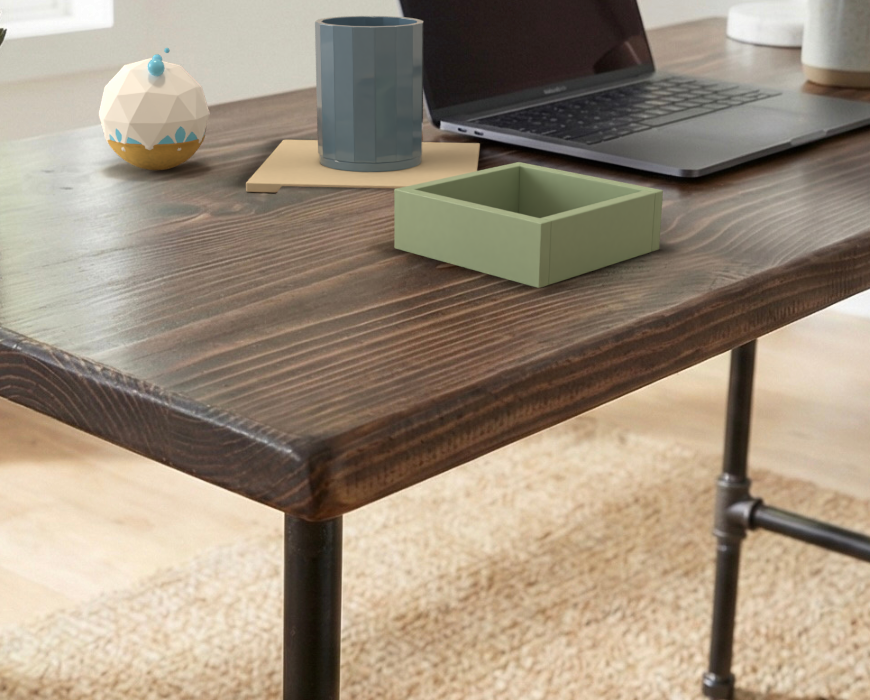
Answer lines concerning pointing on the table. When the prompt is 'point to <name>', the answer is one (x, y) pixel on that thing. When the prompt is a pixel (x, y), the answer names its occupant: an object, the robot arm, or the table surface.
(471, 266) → the open square box
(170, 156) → the ornament
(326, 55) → the cup
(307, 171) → the wooden board
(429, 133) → the table surface
